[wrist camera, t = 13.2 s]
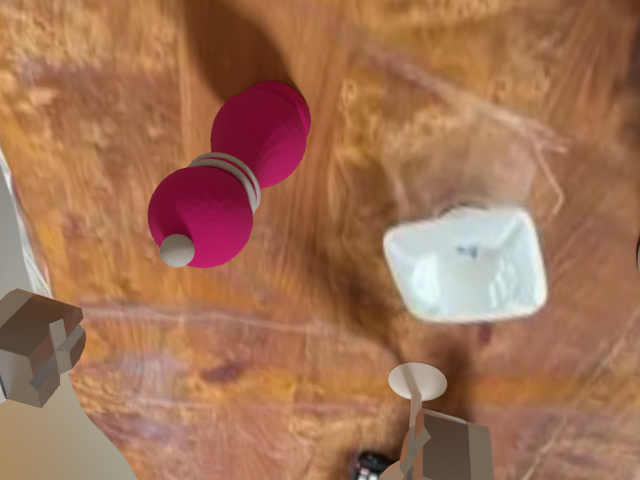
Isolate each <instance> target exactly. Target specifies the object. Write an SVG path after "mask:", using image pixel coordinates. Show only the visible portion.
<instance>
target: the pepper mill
mask: <svg viewBox="0 0 640 480" xmlns="http://www.w3.org/2000/svg"><path fill="white" fill-rule="evenodd" d="M310 125H311V116H310V112H309V109H308V106H307V104H306V102H305V100H304V99H303V98H302V96H301V95H300V94H299V93H298V92H297V91H296V90H295V89H293V88H292V87H290V86H289V85H287V84H284V83H281V82H278V81H263V82H259V83H257V84H254V85H253V86H251V87H250V88H249V89H248V90H247V91H244V92H241V93H239V94H237V95H235V96H233V97H232V98H230V99H229V100H228V101H226V103H225V104H224V105H223V106H222V108H221V109H220V110H219V112H218V113H217V115H216V117H215V119H214V122H213V126H212V131H211V140H210V141H211V152H210V153H206V154H203V155H200V156H199V157H197V158H196V159H194V160H193V161H192V162H191V164H190V165H189V166H188V167H186V168H183V169H180V170H177V171H175V172H173V173H172V174H170V175H169V176H167V177H166V178H165V179H164V180H163V181H162V182H161V183H160V184H159V185H158V187H157V188H156V190H155V191H154V193H153V195H152V197H151V200H150V203H149V208H148V223H149V228H150V231H151V234H152V236H153V238H154V240H155V242H156V244H157V245H158V246H159V247H160V255H161V257H162V259H163V260H164V261H165V262H166V263H167V264H168V265H170V266H172V267H182V266H185V265H188V266H191V267H196V268H209V267H215V266H219V265H222V264H224V263H226V262H228V261H230V260H231V259H233V258H234V257H235V256H236V255H237V254H238V253H239V252H240V251H241V250H242V249H243V247H244V246H245V244H246V243H247V242H248V240H249V237H250V234H251V230H252V227H253V215H254V212H255V211H256V209H257V208H258V205H259V202H260V197H261V196H260V190H261V189H263V188H266V187H269V186H273V185H275V184H277V183H279V182H281V181H282V180H284V179H285V178H287V177H288V176H289V175H290V174H292V172H293V171H294V170H295V169H296V167H297V166H298V165H299V163H300V162H301V160H302V158H303V155H304V153H305V148H306V138H307V136H308V134H309V130H310Z"/></svg>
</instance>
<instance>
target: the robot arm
mask: <svg viewBox="0 0 640 480" xmlns="http://www.w3.org/2000/svg"><path fill="white" fill-rule="evenodd" d="M638 268H639V272H640V247H639V251H638ZM82 319H83V314H82V309H81V308H78V307H75V306H72V305H69V304H66V303H63V302H60V301H56V300H53V299H50V298H47V297H44V296H41V295H38V294H35V293H31V292H28V291H25V290H21V289H15V290H13V291H10V292H9V293H8V294H7V295H5V296H4V298H2V299H1V300H0V404H1V403H2V402H4V401H5V398H6V399H10V400H14V401H17V402H21V403H25V404H28V405H32V406H35V407H39V408H42V407H43V405H44V404H45V403H46V402H47V400H48V399H49V398H50V397H51V395H52V394H53V393H54V392H55V390H56V389H57V388H58V386H59V385H60V374H62V373H64V372H67V371H69V370H71V369H72V368H73V367H74V366H75V364H76V363H77V361H78V360H79V359H80V356H81V354H82V352H83V350H84V348H85V342H86V334H85V330H84V329H83V328H82V327H81V326H80V324H79V323H80V322H81V320H82ZM400 469H401V471H402V473H403V475H404V478H403V480H495V478H494V467H493V457H492V446H491V436H490V431H489V429H488V427H485V426H482V425H479V424H475V423H471V422H468V421H464V420H463V419H460V418H456V417H453V416H449V415H445V414H442V413H438V412H435V411H431V410H427V409H424V408H422V409H420V410H419V412H418V413H417V415H416V419H415V426H412V427H410V428H409V430H408V432H407V434H406V436H405V439H404V442H403V446H402V451H401V458H400Z"/></svg>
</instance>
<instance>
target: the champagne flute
mask: <svg viewBox="0 0 640 480" xmlns="http://www.w3.org/2000/svg"><path fill="white" fill-rule="evenodd" d="M388 382H389V385H390V386H391V388H392V389H393V390H394V391H395V392H396V393H397V394H399V395H400V396H402V397H405V398H407V399H411V409H410V425H409V428H410V427H412V426H415V419H416V415H417V413H418V412H419V410H420V409H421V407H422V401H427V400H432V399H435V398H437V397H439V396H441V395H442V394H443V393H444V392H445V390H446V388H447V380H446V378H445V376H444V375H443V373H442V372H441V371H439V370H438V369H437V368H435V367H433V366H431V365H428V364H424V363H418V362H409V363H404V364H401V365H398V366H397V367H395V368H394V369H393V370H392V371H391V372H390V374H389V377H388ZM403 478H404V475H403V473H402V471H401V469H400V460H399V461H397V462H396V463H394V464H392V465H391V466H389V467H388V468H387V469H386V470H385V471H384V472H383V473H382V475H381V476H380V478H379V479H378V480H403Z"/></svg>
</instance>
